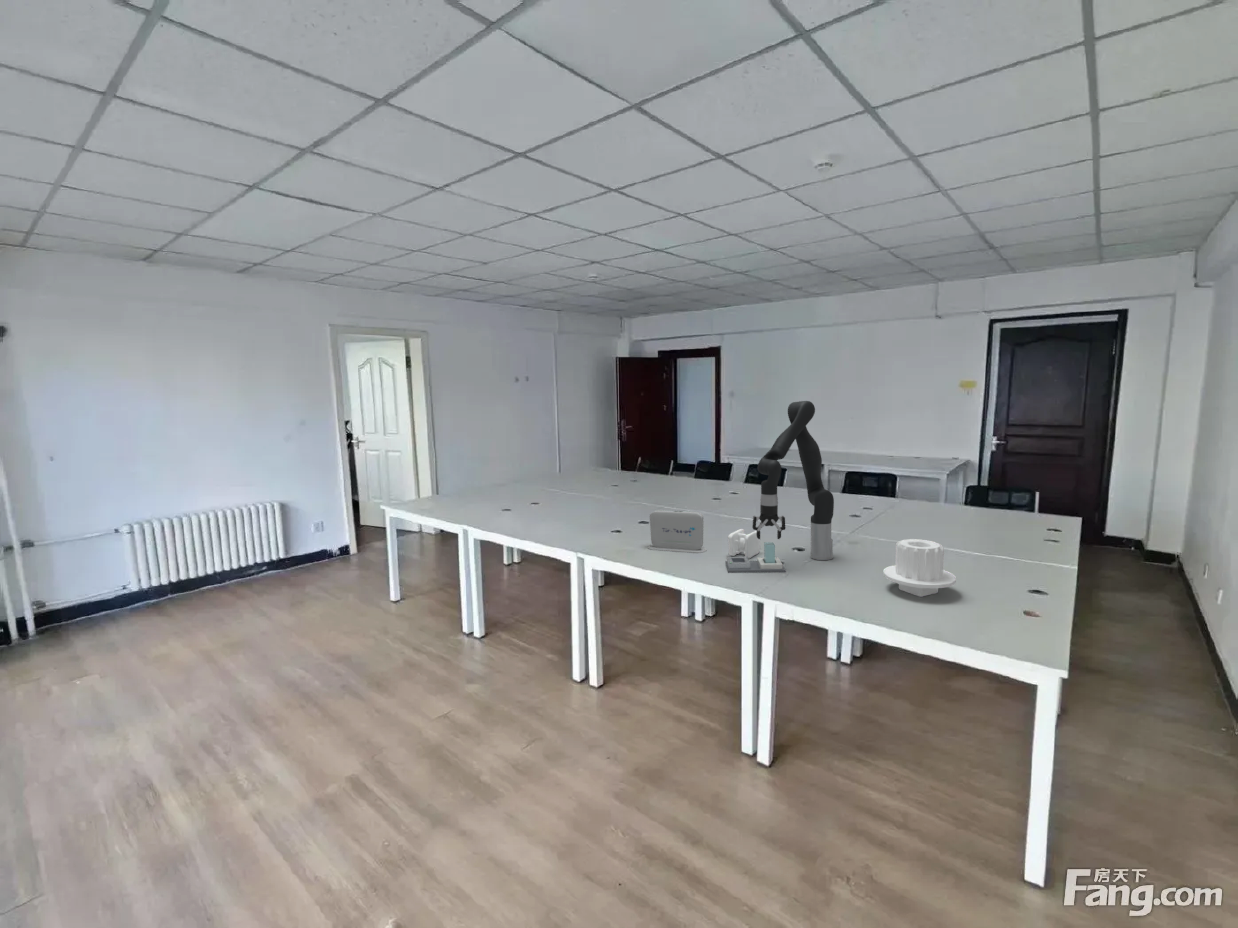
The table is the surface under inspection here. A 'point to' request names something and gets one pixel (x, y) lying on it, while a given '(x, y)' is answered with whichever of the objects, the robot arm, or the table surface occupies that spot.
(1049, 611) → the table surface
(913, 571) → the flanged gear
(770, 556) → the plug
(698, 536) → the wireless router
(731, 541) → the cable organizer
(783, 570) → the panel base
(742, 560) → the block
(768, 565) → the light grey square tray
